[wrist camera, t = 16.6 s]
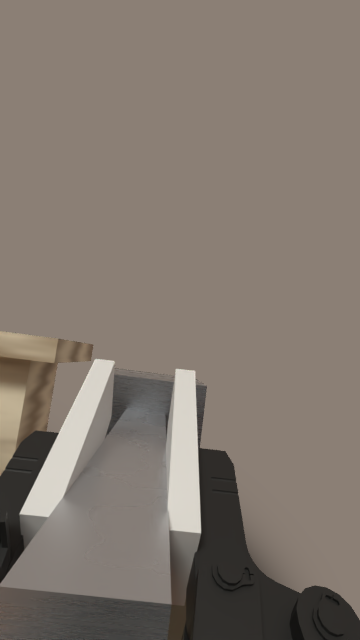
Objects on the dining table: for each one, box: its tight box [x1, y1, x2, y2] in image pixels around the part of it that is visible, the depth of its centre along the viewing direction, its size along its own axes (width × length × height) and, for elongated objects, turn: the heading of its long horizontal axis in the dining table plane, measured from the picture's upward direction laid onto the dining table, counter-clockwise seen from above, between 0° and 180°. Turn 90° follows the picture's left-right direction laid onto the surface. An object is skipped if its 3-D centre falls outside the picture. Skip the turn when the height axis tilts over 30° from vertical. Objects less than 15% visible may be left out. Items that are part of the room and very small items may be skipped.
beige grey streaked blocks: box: [0, 331, 186, 640], centre depth 27 cm, size 26×28×30 cm
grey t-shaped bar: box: [0, 368, 207, 640], centre depth 17 cm, size 24×7×4 cm, turn 3°
